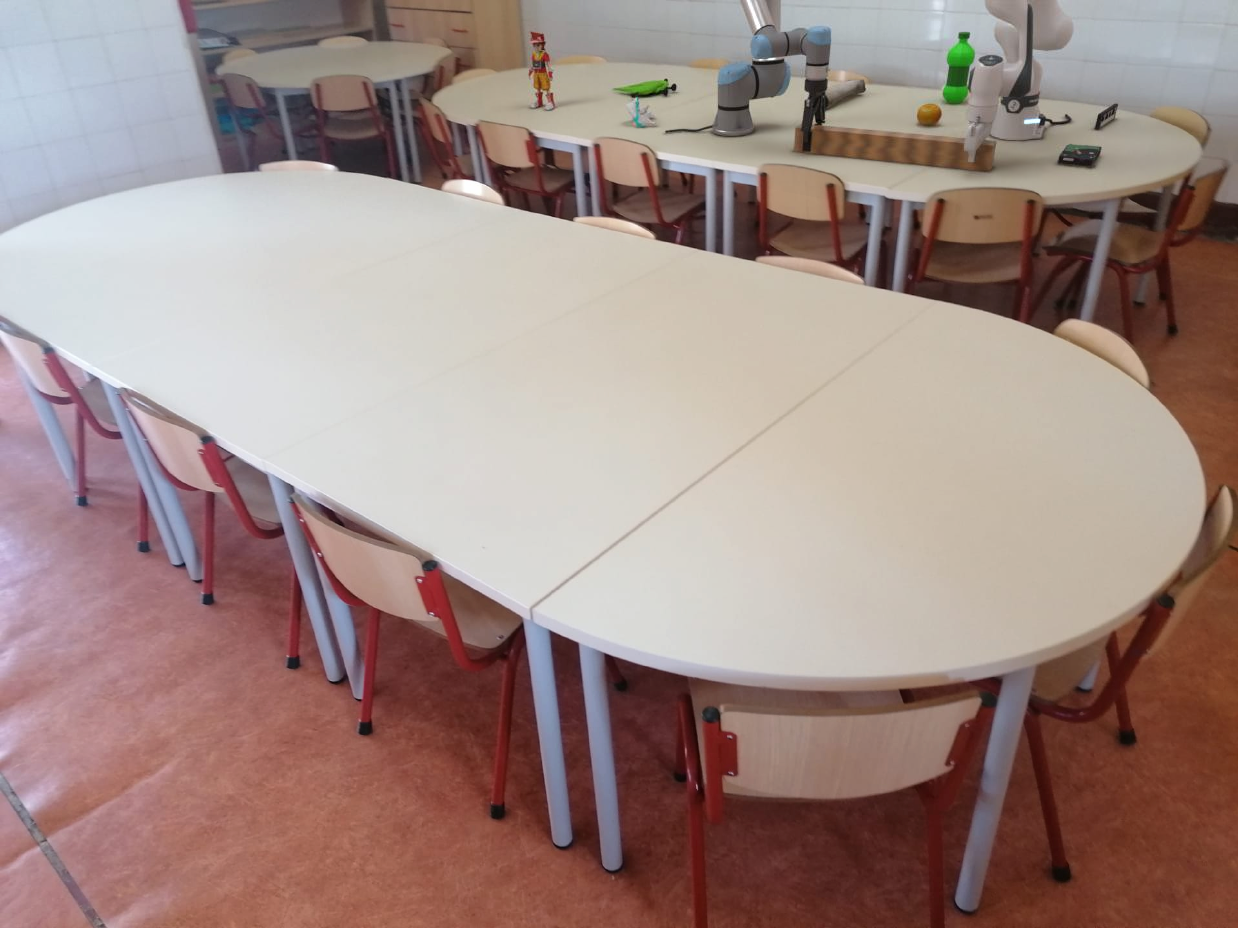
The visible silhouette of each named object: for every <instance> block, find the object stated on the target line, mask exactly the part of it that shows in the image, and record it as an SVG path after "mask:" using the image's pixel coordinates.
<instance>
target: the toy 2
mask: <svg viewBox="0 0 1238 928" xmlns="http://www.w3.org/2000/svg"><path fill="white" fill-rule="evenodd" d="M669 85H670V83H669V79H668V78H664V79H663V80H649V81H644V82H640V83H634V84H629V85H627V86H621V87H613V88H612V89H613V90H616V91H619V92H623V93H627V94H628V93H629V94H631V95H630V96H631V98H632V99H635V98H636V96H637V95H650V94H652V93H654V94H658V93H662V95H663V96H665V97H667V96H668V95H669V90H671V91H672V92H676V91H677V84H676V83H672V84H671V86H669Z"/></svg>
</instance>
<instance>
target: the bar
mask: <svg viewBox="0 0 1238 928" xmlns="http://www.w3.org/2000/svg"><path fill="white" fill-rule="evenodd" d="M801 127H802V123H800V124H798V125H796V126H795V127H794V140H793V141H794V144H793V152H795V153H805V154H815V155H824V156H825V155H826V156H834V157H842V158H843V157H844V158H852V159H863V160H871V161H873V160H874V161H881V162H891V163H901V164H911V165H920V166H921V165H922V166H930V167H939V168H949V169H958V170H959V169H960V170H969V171H977V172H978V171H979V172H990V170H991V169H992V167H993V166H994V165H993V164H994V160H995V159H994V158H995V154H996V148H997V144H998V143H997V142H998V141H997V140H991V139H990V140H989V139H985V140H984V141H983V142H982V143H981V145H980V146H979V148H978V149H977V150H976V153H975V160H974V162H968V157H969V155H968V151H964V144H965V139H966V137H955V136H947V135H946V136H945V135H934V134H921V133H914V132H913V133H912V132H901V131H890V130H889V131H888V130H879V129H866V128H855V127H844V126H835V125H834V126H833V125H824V124H822V125H814V124H812V128H811V131H812V138H811V151H810V152H808V151H802V148H803V132H801ZM806 128H807V127H806Z"/></svg>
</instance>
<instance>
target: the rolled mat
mask: <svg viewBox="0 0 1238 928" xmlns="http://www.w3.org/2000/svg"><path fill="white" fill-rule="evenodd" d="M866 91H867V88H866V82H865V80H864V79H862V78H853V79H849V80H845V81H842V82H839V83H836V84H835V85H830V86H827V90H826V91H825V92H826V94H825V110H827V109H828V108H830V107H831V106H832V105H834V104H836V103H837V102H838V101H840V100H842V99H843V98H845V97H847V96H849V95H860V94H863V93H865V92H866Z"/></svg>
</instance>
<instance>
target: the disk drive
mask: <svg viewBox="0 0 1238 928" xmlns="http://www.w3.org/2000/svg"><path fill="white" fill-rule="evenodd" d="M1101 152H1102V146H1097V145H1088V144H1087V145H1086V144H1084V145H1083V144H1072V143H1069V144H1066V146H1065V147H1064V148H1063V150H1062V151H1061V152H1060V154H1059V155H1058V159H1057V164H1062V165H1070V166H1076V167H1077V166H1078V167H1093V166H1094V164H1095V163H1096V161H1097V160H1098V159H1099V157H1100V155H1101Z"/></svg>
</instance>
